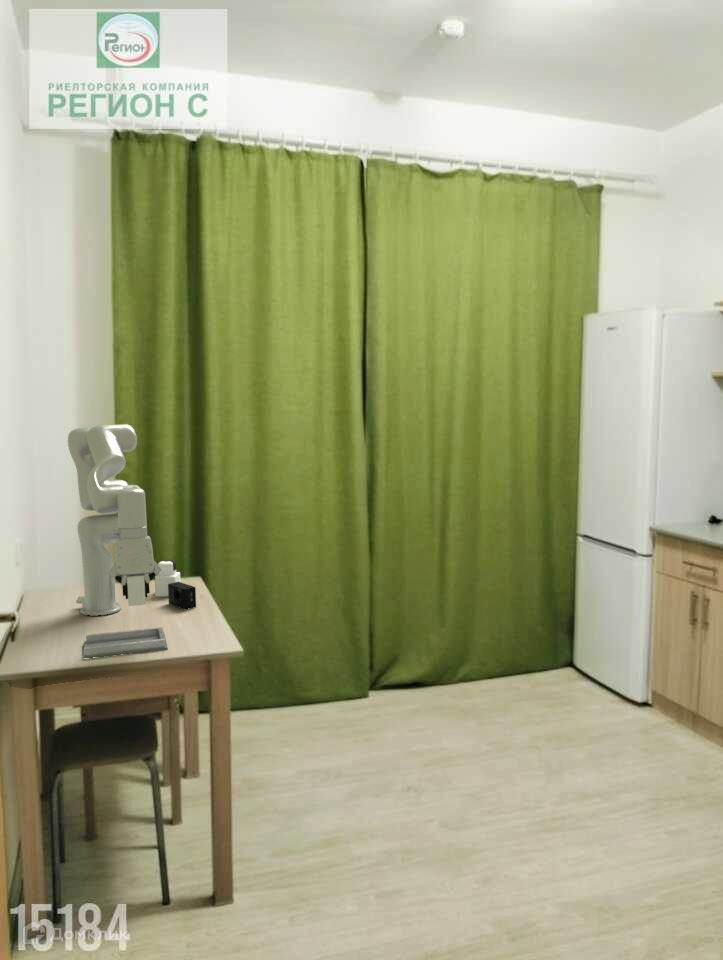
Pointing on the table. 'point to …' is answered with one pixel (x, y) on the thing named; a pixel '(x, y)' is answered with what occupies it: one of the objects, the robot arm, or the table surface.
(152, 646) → the rail guides
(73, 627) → the table surface
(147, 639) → the plate
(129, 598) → the block
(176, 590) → the digital camera
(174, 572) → the medicine bottle
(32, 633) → the table surface
